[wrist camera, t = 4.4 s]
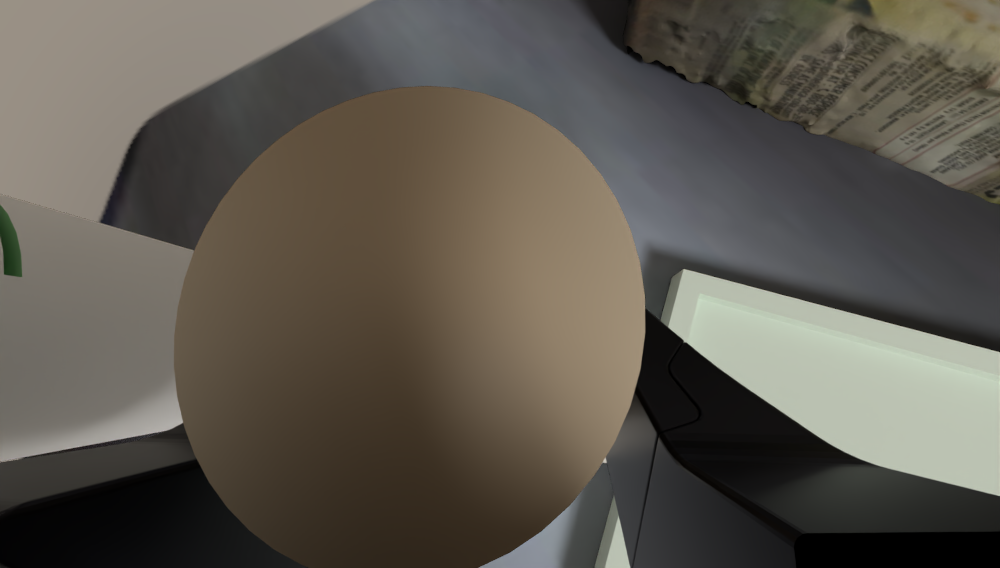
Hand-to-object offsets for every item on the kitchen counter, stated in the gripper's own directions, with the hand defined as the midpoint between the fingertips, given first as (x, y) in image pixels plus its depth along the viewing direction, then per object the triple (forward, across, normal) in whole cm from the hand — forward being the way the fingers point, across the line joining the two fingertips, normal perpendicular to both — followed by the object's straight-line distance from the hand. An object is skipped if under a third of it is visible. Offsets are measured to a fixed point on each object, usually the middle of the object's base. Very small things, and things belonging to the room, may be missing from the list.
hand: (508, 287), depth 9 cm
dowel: (+4, 0, +6) cm, 8 cm away
